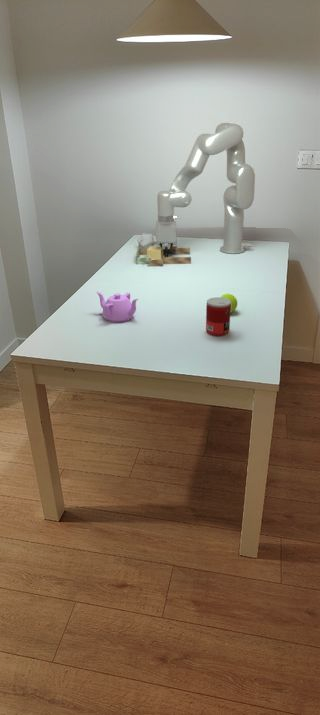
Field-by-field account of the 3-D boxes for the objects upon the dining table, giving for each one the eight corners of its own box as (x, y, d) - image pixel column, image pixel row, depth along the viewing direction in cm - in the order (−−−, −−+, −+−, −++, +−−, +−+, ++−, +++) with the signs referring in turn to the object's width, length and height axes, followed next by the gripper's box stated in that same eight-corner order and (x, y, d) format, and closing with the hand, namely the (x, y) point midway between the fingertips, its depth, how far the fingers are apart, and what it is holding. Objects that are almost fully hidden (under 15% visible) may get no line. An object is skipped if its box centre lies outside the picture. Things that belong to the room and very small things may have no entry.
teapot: (139, 321, 183) (138, 298, 179) (100, 325, 181) (98, 301, 177) (134, 309, 194) (133, 287, 190) (97, 312, 192) (95, 290, 187)
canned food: (228, 337, 170) (230, 306, 165) (204, 335, 172) (205, 305, 167) (230, 327, 177) (231, 297, 172) (206, 326, 178) (207, 296, 173)
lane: (189, 251, 261) (189, 244, 259) (191, 265, 240) (191, 257, 239) (138, 252, 262) (138, 244, 260) (135, 266, 241) (135, 258, 239)
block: (164, 255, 256) (164, 246, 254) (161, 259, 250) (160, 250, 248) (150, 254, 258) (150, 246, 256) (147, 258, 252) (146, 249, 250)
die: (138, 248, 271) (132, 236, 263) (150, 238, 272) (146, 226, 264) (146, 256, 267) (141, 245, 259) (159, 247, 268) (155, 235, 260)
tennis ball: (232, 317, 185) (233, 299, 182) (214, 314, 188) (215, 296, 185) (239, 310, 191) (240, 292, 187) (222, 307, 194) (222, 290, 190)
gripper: (181, 216, 245) (181, 254, 254) (150, 217, 246) (151, 254, 254) (181, 220, 239) (182, 258, 247) (149, 220, 239) (151, 259, 247)
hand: (166, 256), depth 251 cm, fingers closed
